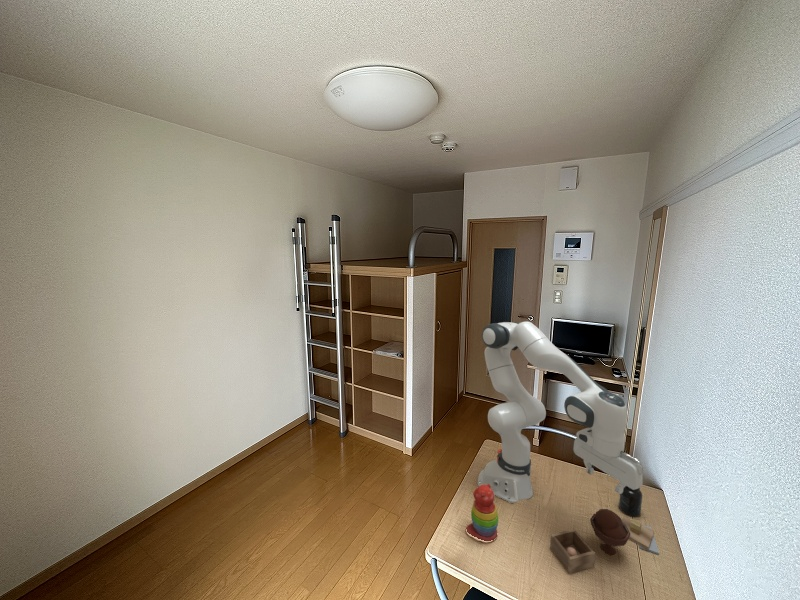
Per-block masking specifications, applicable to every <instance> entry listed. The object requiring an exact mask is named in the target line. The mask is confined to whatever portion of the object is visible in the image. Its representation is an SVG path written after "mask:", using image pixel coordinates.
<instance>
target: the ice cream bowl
mask: <svg viewBox="0 0 800 600" xmlns="http://www.w3.org/2000/svg"><path fill="white" fill-rule="evenodd" d="M621 518H622V517H620V515H618V514H617V513H616V512H614V511H613V510H611V509H609V508H608V509H607V508H600V509H598V510H597V511H596V512H595V513H593V515H592V516H591V517H590V524H591V528H592V531H593V532H594V534H595V536H596V537H597V538H598V539H599V540H600V541H602V543H600V545H599V547H600V550H601V551H602V552H603V553H604V554H605V555H608V556H610V557H611V556H616V554H617V551H616V549H615V548H614V547H623V546H625V545H626V544H627V543H628V541H629V537H630V532H629V530H628V528H627V526H626V525H625V524H624V523H623V522H622V520H621Z"/></svg>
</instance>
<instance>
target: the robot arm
mask: <svg viewBox="0 0 800 600" xmlns="http://www.w3.org/2000/svg"><path fill="white" fill-rule="evenodd" d="M481 339H482V342H483V344H484V345H485V346H486V347H485V349H484V360H485V364H486V368H487V372H488V375H489V378H490V381H491V385H492V387H493V388H494V390H495V391H496V392H498V393H500V394H502V395H504V396H505V397H506V399H507V400H508V401H506V402H502V403H499V404H497V405H495V406H493V407H491V408H489V410H488V413H487V422H488V424H489V426H490V428H491V429H492V430H493V431H494V432H496V433H498V434H499V436H500V439H501V448H498V450H497V454H496V459H494V460H490V461H489V462H487V464H486V465H485V468H483V469H482V470H481V471H480V473H479V474H478V477H477V486H480V485H487V484H490V486H491V489H492V490H493V492H494V495H496V496H498V497H497V498H499V497H500V498H499V499H501V498H502V499H501V500H503V499H504V500H503V501H505V500H506V501H505V502H507V501H508V502H507V503H509V502H510V504H511V503H513V504H512V505H514V504H515V502H518V501H520V500H521V501H523V500H530V499H531V498H532V497H533V494H534V490H533V486H532V481H531V473H532V460H531V442H530V441H529V439H528V438H527V436H525V435H524V434H522V433H521V432H522V430H523V429H525V428H530V427H532V426H536V425H538V424H539V423H541V422H543V421H544V420H545V419H546V416H547V411H546V407H545V405H544V404H543V402H542V401H541V400H540V399H539V398H537V397H535V396H533V395H531V393H529V391H528V390H527V389H526V388H525V387H524V386H523V384H522V382H521V381H520V378H519V376H518V373H517V371H516V367H515V365H514V363H513V360H512V357H511V353H512V352H511V351H516V350H518V349H519V351H521V353H522V355H523V356H524V358H526V360H527V361H528V362H529V364H530V365H532V366H533V367H535V368H537V369H539V370H547V371H553V372H557V373H560V374H563V375H564V376H565V377H566V378H567V379H568V380H569V381H570V382H571V383H572V384H573V385H574V386H575V387H576V388H577V389H578V390H579V391H580V392H577V393H575V394H574V393H573V394H572V395H569V396H568V397H566V398H565V400H564V406H563V408H564V411H565V413H566V415H567V417H568V418H569V419H570V420H571V421H572V422H573V423H575V424H578V425H581V426H583V427H586V428H582V429H581V430H578V431H576V433H575V436H576V437H575V439H574V441H573V449H572V450H573V453H574V454H575V455H576V456H577V457H579V458H581V459H582V460H583V464H584V466H585V468H586V471H585V472H586V473H587V474H588V475H590V476H591V475H593V474H594V473H595V469H594V468H593V467H592V466H594V467H596V468H597V469H599V470H600V471H601V472H603V473H605V474H606V475H609V476H610V477H611V478H613V479H615V480H617V481H618V482H619V484H617V485H615V486H614V490H615V492H617V494H619V495H620V494H621V493H623V488H624V487H626V486H628V487H629V488H631V489H633V490H635V489H638V488H640V489H641V487H642V486H643V481H644V480H643V473H644V465H643V464H642V463H641V461H639V459H638V458H636V457H633V456H632V455H630V454H628V453H627V452H626V451H625V445H626V444H625V443H626V436H625V430H626V428H627V422H628V409H627V405H626V402H625V401H624V398H622V397H620V396H619V395H618V394H615V393H613V392H611V391H609V390H608V388H606V387H604V386H602V385H601V384H599V383H598V382H597V381H595V380H594V379H593V378H592V376H590V375H589V374H588V373H587V372H586V371H585V370H584V369H583V368H582V367H581V365H579V364H578V363H577V362H576V361H575V360H574V359H573V358H571V356H569V355H568V354H566V353H564V352H563V351H561V350H560V349H559V348H558V347H557V346H555V344H554V343H552V342H551V340H550V339H549V337H547V336H546V335H545V334H544V332H543V331H542V330H541V329H539V328H538V327H537V326H536V325H535V324H533V322H531V321H522V322H517V321H516V322H515V321H514V322H509V321H503V322H498V323H497V322H495V323H494V322H493V323H490V324H487V325H485V326H484V328H483V329H482V331H481ZM624 451H625V452H624ZM479 482H481V483H479ZM496 496H495V497H496Z"/></svg>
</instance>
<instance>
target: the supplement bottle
mask: <svg viewBox="0 0 800 600" xmlns="http://www.w3.org/2000/svg"><path fill="white" fill-rule="evenodd" d="M640 489H641V487H640V488H638V489H635V490H633V489H631V488H629V487H628V486H626V487H624V488H623V493H621V494H619V502H618V507H619V509H620V510H621V512H623V513H624V514H625V515H626V516H629V517H633V518H637V517H640V516H641V513H642V503H643V492H642V490H640Z"/></svg>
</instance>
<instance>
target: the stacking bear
mask: <svg viewBox="0 0 800 600" xmlns="http://www.w3.org/2000/svg"><path fill="white" fill-rule="evenodd" d="M472 493H473V494H472V495H473V497H474V498H473V499H474V500H473V503H472V508H471V511H470V512H471V514H470V515H471V522H472V523H471V524H468V525H467V526H466V527H465V530H466V529H467V532H468V533H469V534H471V535H472V536H474V537H477V538H478V539H481V540H484V541H491V540H494V539H495V538H496V537H497V538H498V535H497V533H498V530H497V529H498V525H499V513H498V508H497V505H496V504H495V502H494V501H495V496H494V492H493V490H492V489H491V486H490V484H487V485H480V486H479V487H476V488H474V489H473V492H472ZM497 538H496V539H497Z"/></svg>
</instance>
